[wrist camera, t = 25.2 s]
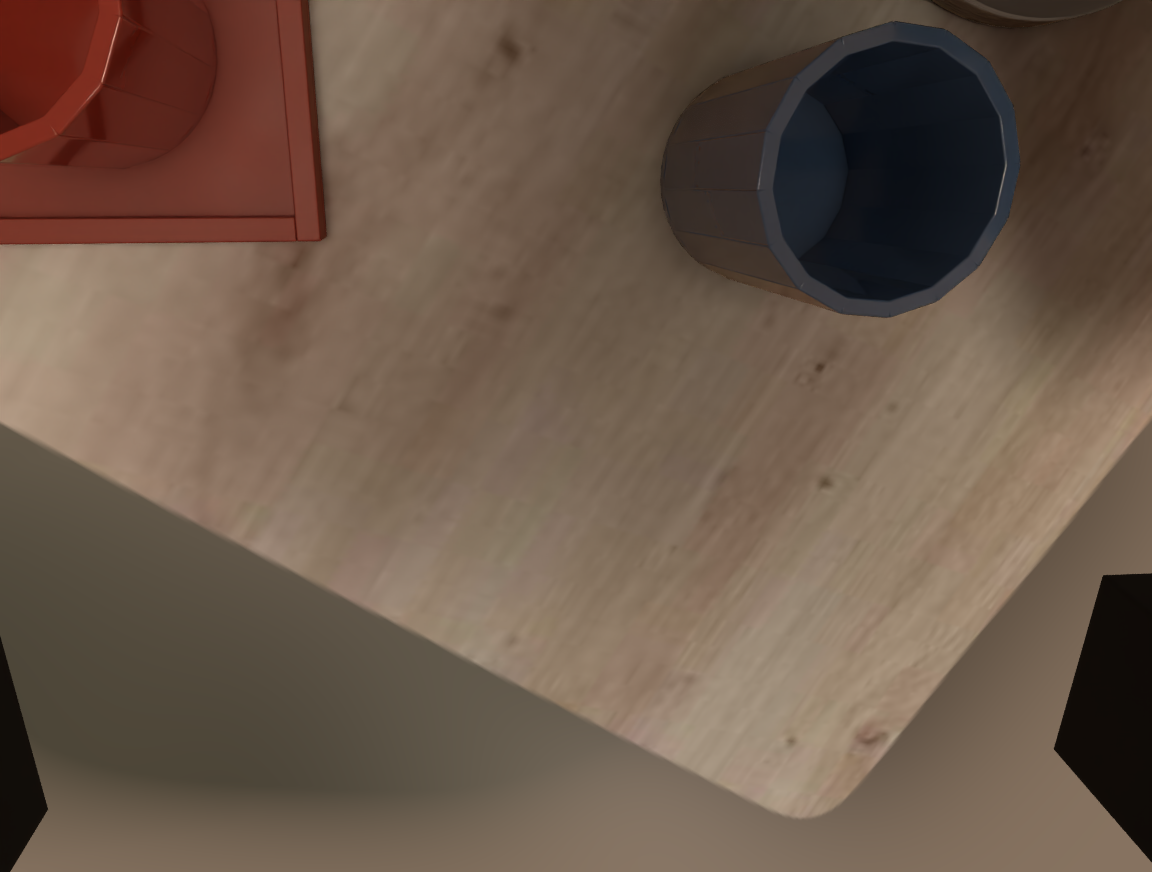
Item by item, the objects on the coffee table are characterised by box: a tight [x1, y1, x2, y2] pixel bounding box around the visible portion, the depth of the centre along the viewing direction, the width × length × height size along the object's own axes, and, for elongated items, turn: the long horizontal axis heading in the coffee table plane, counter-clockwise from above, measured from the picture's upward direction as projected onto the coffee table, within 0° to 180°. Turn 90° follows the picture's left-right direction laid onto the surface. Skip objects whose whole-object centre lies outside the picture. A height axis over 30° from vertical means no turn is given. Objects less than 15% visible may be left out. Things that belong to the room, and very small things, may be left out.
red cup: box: [0, 0, 217, 169], centre depth 23 cm, size 8×8×10 cm
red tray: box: [0, 0, 327, 244], centre depth 27 cm, size 14×13×2 cm
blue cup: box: [661, 21, 1020, 318], centre depth 29 cm, size 8×8×10 cm
